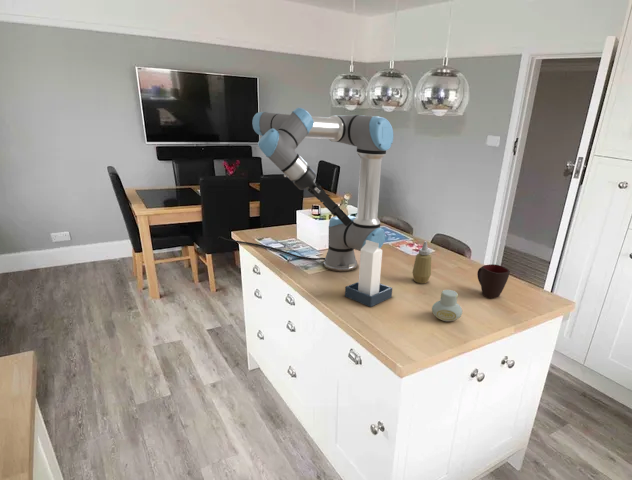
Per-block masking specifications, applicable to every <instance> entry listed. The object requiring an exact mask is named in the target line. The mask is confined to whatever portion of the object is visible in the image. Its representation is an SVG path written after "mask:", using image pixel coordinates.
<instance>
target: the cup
mask: <svg viewBox="0 0 632 480" xmlns="http://www.w3.org/2000/svg"><path fill="white" fill-rule="evenodd" d="M510 274H511V271H510V269H508V268H507V267H504V266H502V265H500V264H484V265H482V266H481V267H479V268H478V269H477V273H476V275H477V280H478V283H479V285H480V288H481V294H482V295H483V296H484V297H485V298H487V299H498V298H500V295H501V294H502V293H503V291H504V289H505V288H506V287H505V286H506V284H507V282H508V280H509V277H510Z"/></svg>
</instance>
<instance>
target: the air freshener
mask: <svg viewBox="0 0 632 480" xmlns="http://www.w3.org/2000/svg"><path fill="white" fill-rule="evenodd" d="M458 297H459V294H458V292H457V291H455V290H452V289H443V290H442V291H441V293H440V299H439V300H438V301H436V302H434V303H433V305H432V306H431V312H432V314H433V315H434V317H436V318H437V319H439V320H441V321H443V322H455V321H457V320H458V319H460V318H461V317H462V315H463V309H462V308H463V307H462V306H461V305H460V304H459V303H458Z"/></svg>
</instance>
